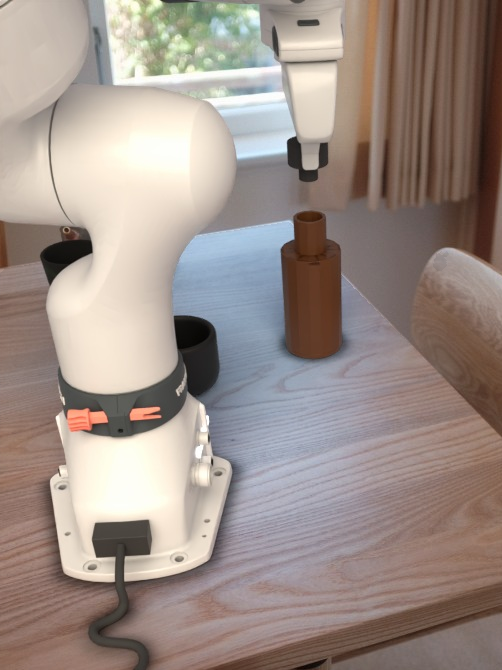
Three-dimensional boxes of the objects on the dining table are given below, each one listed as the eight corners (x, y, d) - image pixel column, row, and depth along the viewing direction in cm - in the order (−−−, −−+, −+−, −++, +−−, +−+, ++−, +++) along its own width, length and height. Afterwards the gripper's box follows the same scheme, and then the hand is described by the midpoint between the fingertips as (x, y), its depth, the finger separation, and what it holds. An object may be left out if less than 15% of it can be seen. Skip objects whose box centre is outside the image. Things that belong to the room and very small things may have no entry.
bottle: (345, 356, 115) (344, 226, 104) (288, 360, 114) (281, 230, 103) (337, 329, 120) (336, 203, 110) (283, 333, 120) (276, 206, 109)
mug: (202, 358, 115) (195, 307, 110) (234, 390, 109) (229, 337, 104) (112, 386, 110) (101, 333, 106) (141, 421, 104) (131, 367, 100)
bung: (330, 185, 102) (330, 147, 100) (290, 187, 102) (288, 149, 99) (326, 170, 106) (325, 133, 103) (286, 172, 105) (285, 135, 103)
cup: (128, 342, 118) (113, 254, 111) (73, 359, 115) (53, 270, 107) (105, 319, 123) (88, 234, 116) (51, 335, 120) (30, 248, 112)
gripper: (265, 2, 101) (272, 130, 110) (280, 47, 85) (287, 193, 94) (321, 0, 102) (324, 128, 110) (346, 45, 86) (347, 189, 95)
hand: (307, 158), depth 102 cm, fingers closed on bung, 4 cm apart
